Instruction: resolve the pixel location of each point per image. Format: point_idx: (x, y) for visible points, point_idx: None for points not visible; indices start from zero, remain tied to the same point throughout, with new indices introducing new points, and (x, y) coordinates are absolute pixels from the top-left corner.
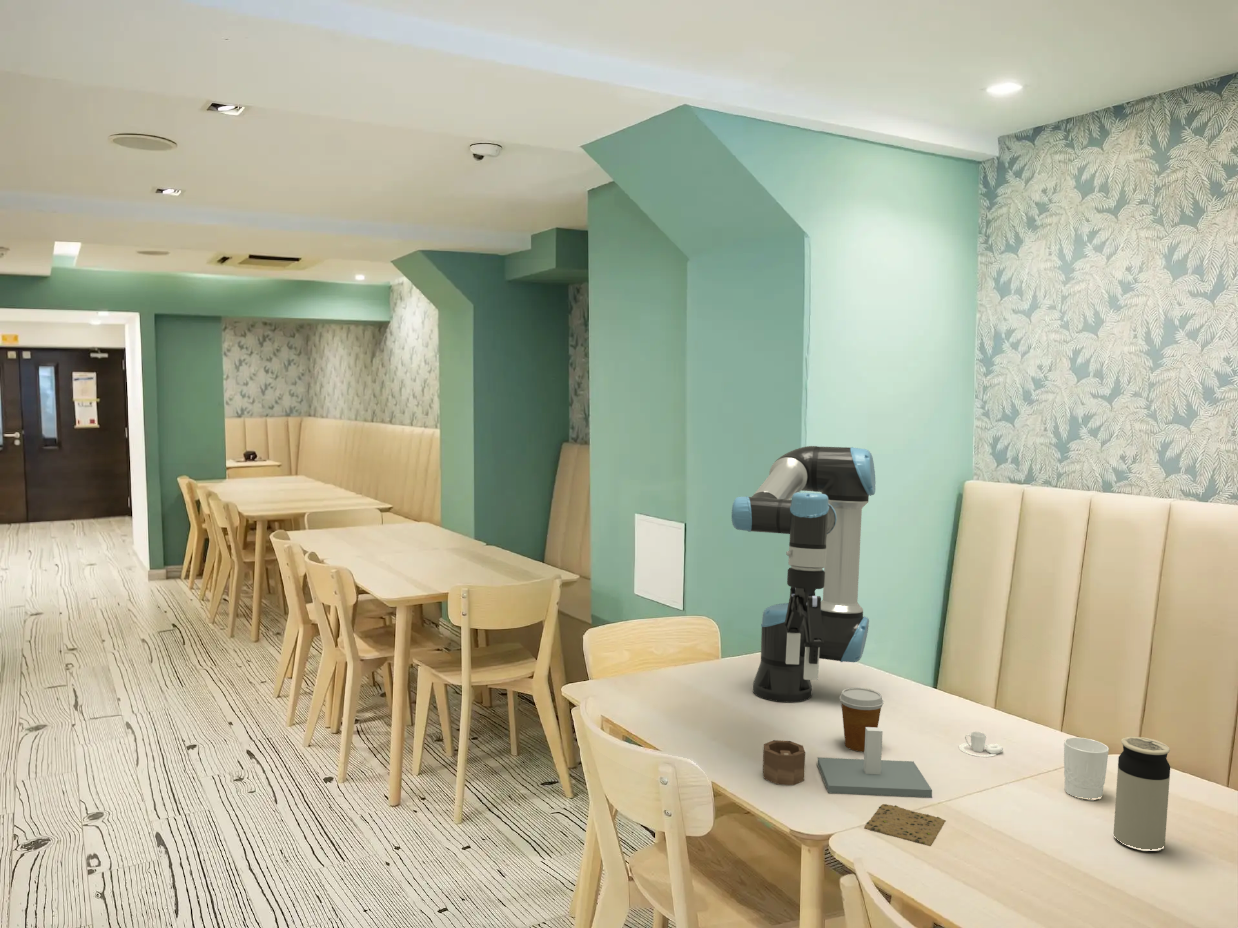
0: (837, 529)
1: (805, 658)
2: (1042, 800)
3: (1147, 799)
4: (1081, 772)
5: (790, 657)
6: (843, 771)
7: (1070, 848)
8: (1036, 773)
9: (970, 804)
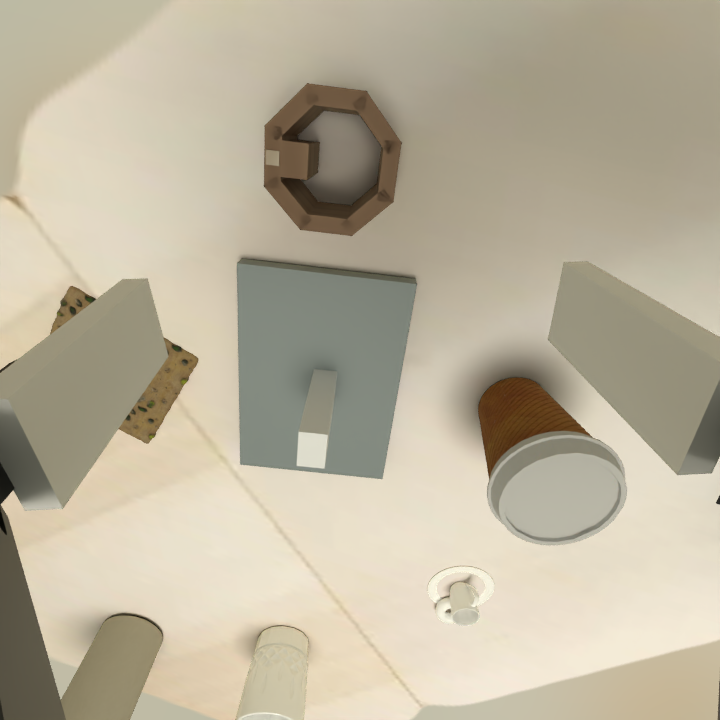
0: None
1: (47, 339)
2: (253, 591)
3: None
4: (250, 675)
5: (581, 302)
6: (326, 323)
7: (91, 561)
8: (355, 620)
9: (222, 500)
